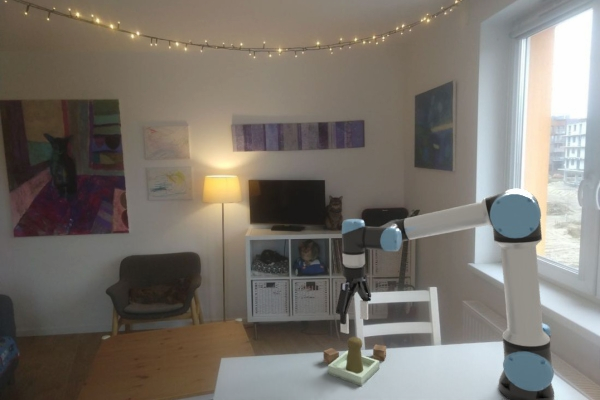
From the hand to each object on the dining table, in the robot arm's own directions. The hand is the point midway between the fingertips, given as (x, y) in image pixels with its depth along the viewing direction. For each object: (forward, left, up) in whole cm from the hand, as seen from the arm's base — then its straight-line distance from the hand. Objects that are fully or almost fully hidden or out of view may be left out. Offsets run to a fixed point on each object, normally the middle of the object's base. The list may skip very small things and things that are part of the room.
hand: (354, 325), depth 139 cm
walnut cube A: (-3, -14, -17) cm, 22 cm away
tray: (0, 0, -17) cm, 17 cm away
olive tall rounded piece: (0, 0, -16) cm, 16 cm away
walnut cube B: (+10, -1, -17) cm, 20 cm away
